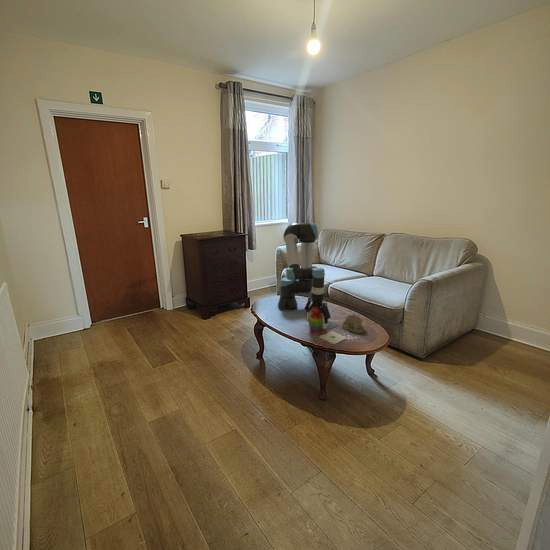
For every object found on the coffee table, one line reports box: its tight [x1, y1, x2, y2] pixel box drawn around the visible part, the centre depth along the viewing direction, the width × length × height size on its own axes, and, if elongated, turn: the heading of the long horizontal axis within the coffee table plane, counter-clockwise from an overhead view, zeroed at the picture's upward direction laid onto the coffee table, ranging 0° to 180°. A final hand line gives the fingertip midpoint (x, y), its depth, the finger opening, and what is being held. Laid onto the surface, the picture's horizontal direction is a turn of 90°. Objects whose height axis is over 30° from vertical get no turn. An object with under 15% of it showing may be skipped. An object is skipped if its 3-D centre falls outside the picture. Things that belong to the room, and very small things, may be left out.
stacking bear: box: [308, 305, 328, 336], centre depth 198 cm, size 11×10×18 cm
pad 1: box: [324, 320, 339, 331], centre depth 211 cm, size 12×12×1 cm
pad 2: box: [318, 330, 348, 345], centre depth 193 cm, size 12×12×1 cm
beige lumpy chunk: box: [341, 313, 364, 334], centre depth 204 cm, size 14×11×10 cm
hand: (316, 324), depth 199 cm, fingers open, 13 cm apart
